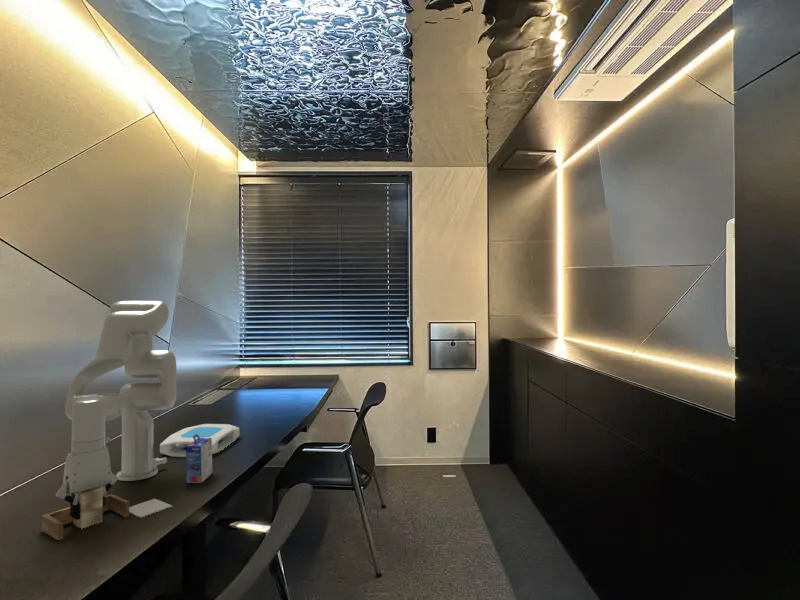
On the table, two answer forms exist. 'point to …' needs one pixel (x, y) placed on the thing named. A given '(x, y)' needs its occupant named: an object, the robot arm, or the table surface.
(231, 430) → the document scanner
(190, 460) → the ink cartridge box
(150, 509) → the mat
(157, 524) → the table surface
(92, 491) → the block
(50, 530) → the u-shaped frame
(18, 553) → the table surface
